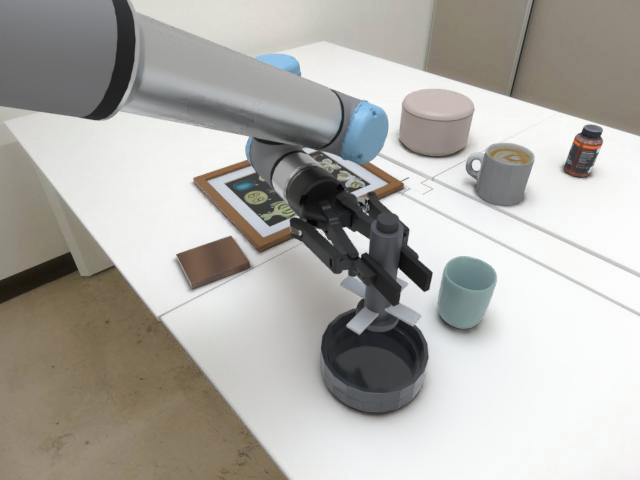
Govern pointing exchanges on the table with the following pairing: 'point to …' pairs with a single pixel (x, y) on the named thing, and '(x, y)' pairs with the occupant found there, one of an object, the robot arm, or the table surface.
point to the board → (212, 261)
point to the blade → (374, 306)
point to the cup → (465, 291)
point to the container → (435, 121)
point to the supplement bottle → (584, 151)
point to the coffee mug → (502, 172)
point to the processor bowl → (373, 364)
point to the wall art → (269, 208)
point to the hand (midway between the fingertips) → (413, 289)
